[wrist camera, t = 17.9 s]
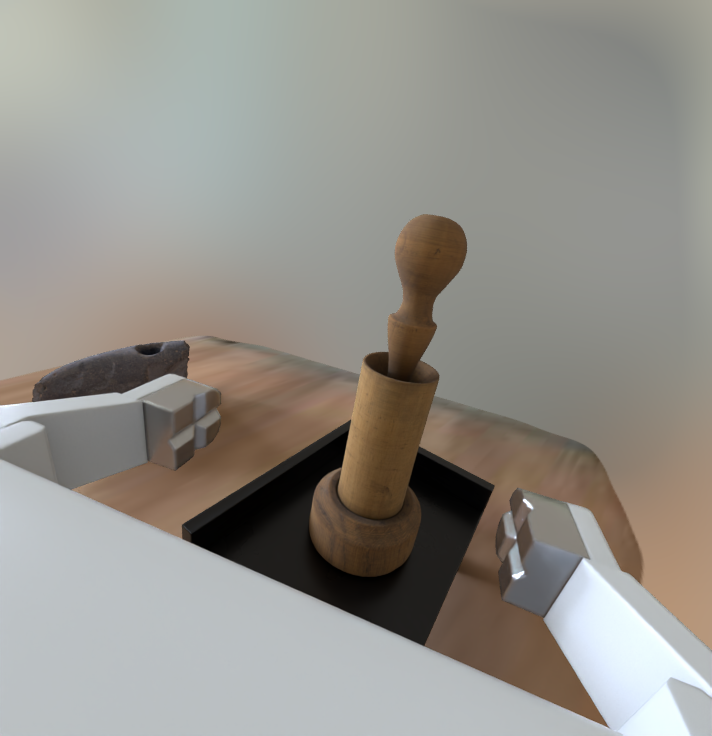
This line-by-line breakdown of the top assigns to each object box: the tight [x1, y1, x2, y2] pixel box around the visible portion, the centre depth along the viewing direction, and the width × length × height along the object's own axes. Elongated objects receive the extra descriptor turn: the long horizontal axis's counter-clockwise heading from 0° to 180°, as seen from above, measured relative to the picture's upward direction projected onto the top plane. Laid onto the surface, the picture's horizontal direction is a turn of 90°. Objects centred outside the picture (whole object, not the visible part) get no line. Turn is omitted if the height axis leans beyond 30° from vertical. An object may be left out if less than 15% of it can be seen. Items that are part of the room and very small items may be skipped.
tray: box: [182, 420, 494, 646], centre depth 22 cm, size 12×16×8 cm
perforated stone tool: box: [32, 341, 190, 402], centre depth 36 cm, size 15×5×7 cm, turn 137°
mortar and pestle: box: [309, 214, 467, 577], centre depth 17 cm, size 7×6×18 cm
